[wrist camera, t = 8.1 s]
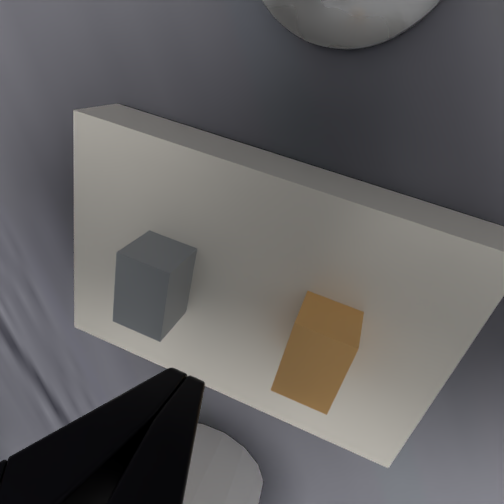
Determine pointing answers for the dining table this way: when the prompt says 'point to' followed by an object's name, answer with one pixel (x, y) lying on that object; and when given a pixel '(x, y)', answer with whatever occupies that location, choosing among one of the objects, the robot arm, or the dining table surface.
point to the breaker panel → (275, 277)
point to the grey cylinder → (221, 471)
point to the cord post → (349, 20)
